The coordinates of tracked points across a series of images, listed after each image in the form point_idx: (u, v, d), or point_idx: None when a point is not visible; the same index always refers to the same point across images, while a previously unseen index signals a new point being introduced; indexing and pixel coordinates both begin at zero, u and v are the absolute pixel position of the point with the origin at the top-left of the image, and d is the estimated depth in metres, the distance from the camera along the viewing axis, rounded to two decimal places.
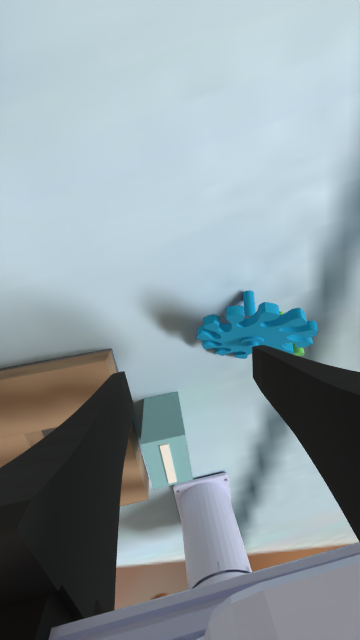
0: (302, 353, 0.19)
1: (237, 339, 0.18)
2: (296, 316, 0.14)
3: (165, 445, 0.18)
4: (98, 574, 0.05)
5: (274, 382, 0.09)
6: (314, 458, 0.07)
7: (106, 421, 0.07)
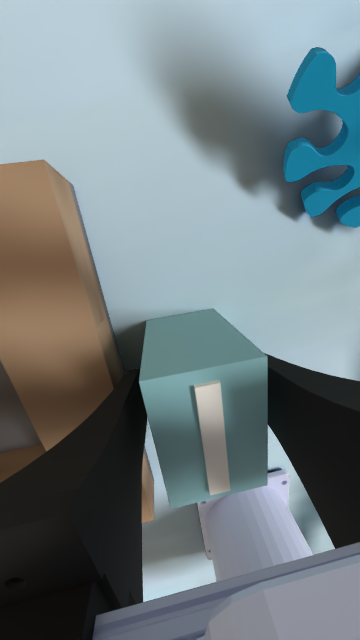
0: None
1: None
2: None
3: (210, 387, 0.06)
4: (129, 566, 0.05)
5: None
6: (294, 463, 0.07)
7: (128, 416, 0.07)
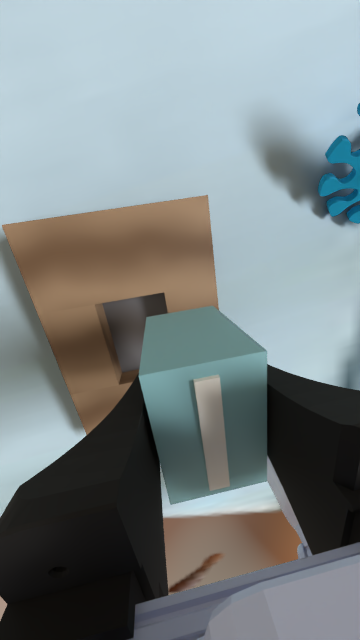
0: None
1: None
2: None
3: (210, 381, 0.06)
4: (157, 558, 0.05)
5: None
6: (275, 467, 0.07)
7: (147, 412, 0.07)
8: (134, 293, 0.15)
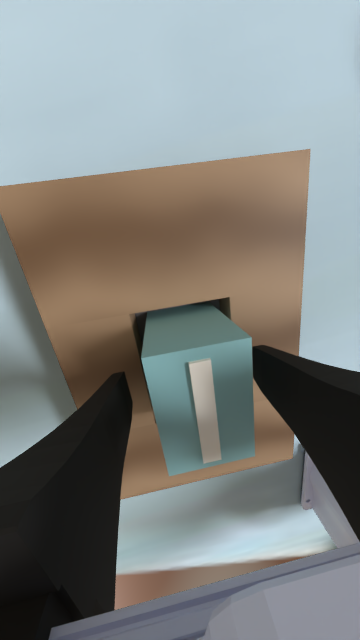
0: None
1: None
2: None
3: (202, 363, 0.07)
4: (98, 574, 0.05)
5: (274, 383, 0.09)
6: (314, 458, 0.07)
7: (106, 421, 0.07)
8: (187, 298, 0.10)
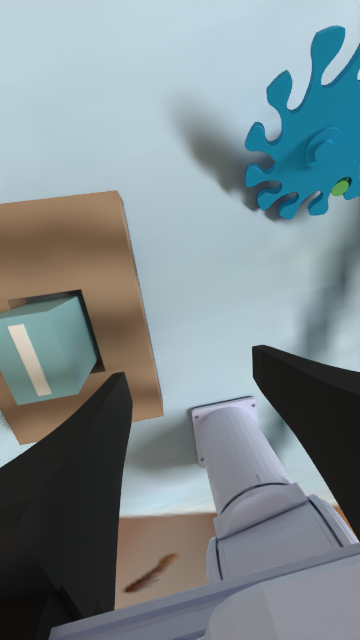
0: None
1: (303, 143, 0.13)
2: None
3: (16, 326, 0.12)
4: (98, 574, 0.05)
5: (274, 382, 0.09)
6: (314, 458, 0.07)
7: (106, 421, 0.07)
8: (49, 289, 0.15)
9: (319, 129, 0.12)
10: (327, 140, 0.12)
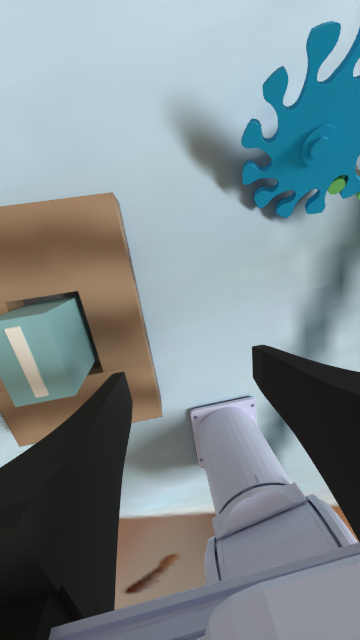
0: None
1: (299, 140, 0.13)
2: None
3: (13, 328, 0.12)
4: (98, 574, 0.05)
5: (274, 383, 0.09)
6: (314, 458, 0.07)
7: (106, 421, 0.07)
8: (46, 291, 0.15)
9: (315, 126, 0.12)
10: (323, 137, 0.12)
